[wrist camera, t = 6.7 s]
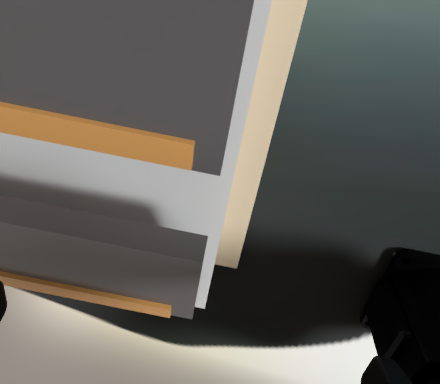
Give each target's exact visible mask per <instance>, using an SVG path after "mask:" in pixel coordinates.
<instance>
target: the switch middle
mask: <svg viewBox="0 0 440 384" xmlns="http://www.w3.org/2000/svg"><path fill="white" fill-rule="evenodd" d="M253 5H254V0H0V132H1V133H6V134H11V135H16V136H21V137H26V138H31V139H36V140H41V141H46V142H51V143H56V144H61V145H66V146H71V147H76V148H81V149H86V150H91V151H96V152H101V153H106V154H111V155H116V156H121V157H126V158H131V159H136V160H141V161H146V162H151V163H156V164H161V165H165V166H170V167H175V168H180V169H185V170H190V171H191V170H192V171H197V172H202V173H207V174H212V175H217V176H220V174H221V170H222V165H223V160H224V155H225V150H226V145H227V139H228V134H229V129H230V124H231V119H232V113H233V108H234V103H235V98H236V93H237V88H238V82H239V77H240V72H241V67H242V62H243V56H244V51H245V46H246V41H247V36H248V30H249V25H250V20H251V15H252V10H253Z"/></svg>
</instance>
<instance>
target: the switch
mask: <svg viewBox="0 0 440 384" xmlns="http://www.w3.org/2000/svg"><path fill="white" fill-rule="evenodd" d="M207 239H208V236H206V235H201V234H196V233H191V232H186V231H181V230H176V229H171V228H166V227H161V226H156V225H151V224H146V223H141V222H136V221H131V220H126V219H121V218H116V217H111V216H106V215H101V214H96V213H91V212H86V211H81V210H76V209H71V208H66V207H61V206H56V205H51V204H46V203H41V202H36V201H31V200H26V199H21V198H16V197H11V196H6V195H1V194H0V281H2V283H3V285H7V286H12V287H17V288H22V289H27V290H32V291H37V292H42V293H47V294H52V295H57V296H62V297H67V298H72V299H77V300H82V301H86V302H91V303H96V304H101V305H106V306H111V307H116V308H121V309H126V310H131V311H136V312H141V313H146V314H151V315H156V316H161V317H166V318H170V316H171V315H172V316H177V317H182V318H187V319H192V318H193V313H194V308H195V303H196V298H197V293H198V287H199V282H200V277H201V271H202V266H203V260H204V255H205V250H206V244H207Z"/></svg>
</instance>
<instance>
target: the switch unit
mask: <svg viewBox="0 0 440 384" xmlns="http://www.w3.org/2000/svg"><path fill="white" fill-rule="evenodd" d="M307 1H308V0H254V5H253V10H252V15H251V20H250V25H249V30H248V36H247V41H246V46H245V51H244V56H243V62H242V67H241V72H240V77H239V82H238V88H237V93H236V98H235V103H234V108H233V113H232V119H231V124H230V129H229V134H228V139H227V145H226V150H225V155H224V160H223V165H222V170H221V174H220V176H217V175H212V174H207V173H202V172H197V171H192V170H191V171H190V170H185V169H180V168H175V167H170V166H165V165H161V164H156V163H151V162H146V161H141V160H136V159H131V158H126V157H121V156H116V155H111V154H106V153H101V152H96V151H91V150H86V149H81V148H76V147H71V146H66V145H61V144H56V143H51V142H46V141H41V140H36V139H31V138H26V137H21V136H16V135H11V134H6V133H1V132H0V194H1V195H6V196H11V197H16V198H21V199H26V200H31V201H36V202H41V203H46V204H51V205H56V206H61V207H66V208H71V209H76V210H81V211H86V212H91V213H96V214H101V215H106V216H111V217H116V218H121V219H126V220H131V221H136V222H141V223H146V224H151V225H156V226H161V227H166V228H171V229H176V230H181V231H186V232H191V233H196V234H201V235H206V236H208V239H207V244H206V250H205V255H204V260H203V266H202V271H201V277H200V282H199V287H198V293H197V298H196V303H195V307H198V308H203V309H205V306H206V301H207V296H208V292H209V287H210V283H211V278H212V273H213V269H214V264H216V265H221V266H226V267H231V268H236V269H237V266H238V262H239V259H240V255H241V251H242V247H243V243H244V240H245V236H246V232H247V228H248V224H249V221H250V217H251V213H252V209H253V205H254V202H255V198H256V194H257V190H258V186H259V183H260V179H261V175H262V171H263V168H264V164H265V160H266V156H267V152H268V149H269V145H270V141H271V137H272V133H273V130H274V126H275V122H276V118H277V114H278V111H279V107H280V103H281V99H282V95H283V92H284V88H285V84H286V80H287V76H288V73H289V69H290V65H291V61H292V58H293V54H294V50H295V46H296V42H297V39H298V35H299V31H300V27H301V23H302V20H303V16H304V12H305V8H306V4H307Z"/></svg>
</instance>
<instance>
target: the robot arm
mask: <svg viewBox="0 0 440 384" xmlns="http://www.w3.org/2000/svg"><path fill="white" fill-rule="evenodd" d="M405 257H408V258H407V259H404V260H402V259H403V258H405ZM6 308H7V301H6V296H5V291H4V285H3V283H2V281H0V321H1V319H2V317H3V315H4V314H5V311H6ZM364 308H365V310H364V311H363V313H362V315H361V317H360V321H361V324H362V326H363V327H364V328H368V329H371V333H372V336H373V339H374V343H375V347H376V350H377V354H378V356H376V357H374V358H373V359H372V361H371V362H370V364H369V365H368V367H367V368H366V370H365V372H364V373H363V375H362V378H361V384H440V256H436V255H431V254H426V253H421V252H416V251H411V250H400V251H398V252H397V253H396V254H395V256H394V257H393V259H392V261H391V263H390V265H389V266H388V268H387V270H386V272H385V274H384V275H383V277H382V278H381V279H380V280H379V281H378V283H377V284H376V286H375V288H374V290H373V292H372V293H371V295H370V297H369V299H368V301H367V302H366V304H365V306H364Z"/></svg>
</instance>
